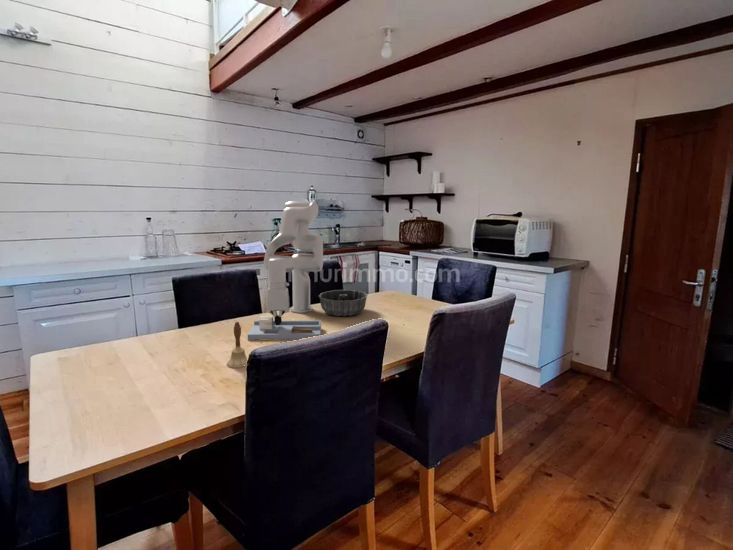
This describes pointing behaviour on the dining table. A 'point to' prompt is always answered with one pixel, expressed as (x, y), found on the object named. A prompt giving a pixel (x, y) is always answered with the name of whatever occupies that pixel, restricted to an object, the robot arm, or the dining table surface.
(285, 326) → the tray
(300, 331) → the crook tool
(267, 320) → the cream block
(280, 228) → the robot arm
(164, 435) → the dining table surface
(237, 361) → the hand bell
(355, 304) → the bundt pan
